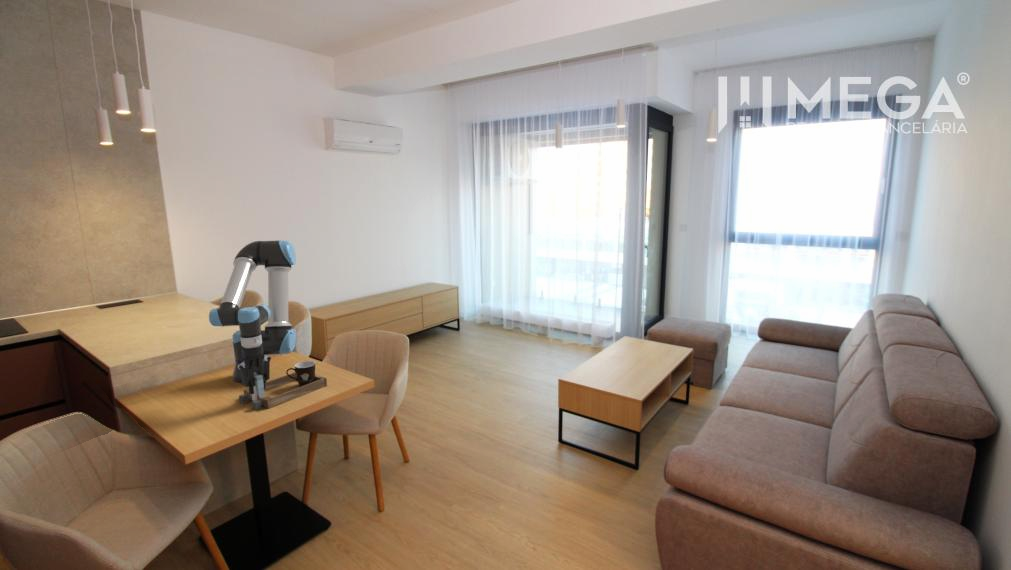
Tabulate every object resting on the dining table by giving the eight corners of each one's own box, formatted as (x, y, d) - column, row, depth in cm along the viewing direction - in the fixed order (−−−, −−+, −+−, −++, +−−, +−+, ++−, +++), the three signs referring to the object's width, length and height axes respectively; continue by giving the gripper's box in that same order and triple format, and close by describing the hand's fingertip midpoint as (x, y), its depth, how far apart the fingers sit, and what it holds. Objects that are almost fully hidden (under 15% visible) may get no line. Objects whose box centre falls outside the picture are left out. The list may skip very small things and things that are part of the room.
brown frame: (244, 397, 203) (241, 371, 200) (302, 376, 225) (300, 352, 223) (268, 408, 193) (265, 380, 190) (326, 385, 215) (324, 360, 213)
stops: (239, 402, 199) (239, 395, 198) (244, 400, 200) (243, 393, 200) (256, 410, 192) (255, 403, 191) (261, 408, 193) (260, 401, 193)
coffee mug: (320, 381, 219) (319, 361, 217) (310, 389, 211) (308, 368, 209) (297, 380, 221) (295, 359, 219) (286, 387, 213) (284, 366, 211)
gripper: (237, 352, 185) (244, 408, 190) (275, 341, 198) (281, 394, 203) (227, 349, 189) (235, 403, 194) (265, 338, 202) (271, 390, 207)
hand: (258, 398), depth 199 cm, fingers closed on brown frame, 2 cm apart
